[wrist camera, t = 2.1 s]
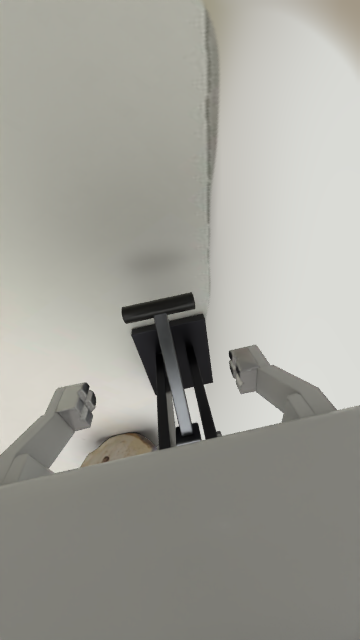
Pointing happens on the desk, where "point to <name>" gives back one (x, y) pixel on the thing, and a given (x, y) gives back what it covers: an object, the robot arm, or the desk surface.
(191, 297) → the lever
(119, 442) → the potted plant
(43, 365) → the desk surface
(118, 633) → the robot arm
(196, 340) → the bracket
